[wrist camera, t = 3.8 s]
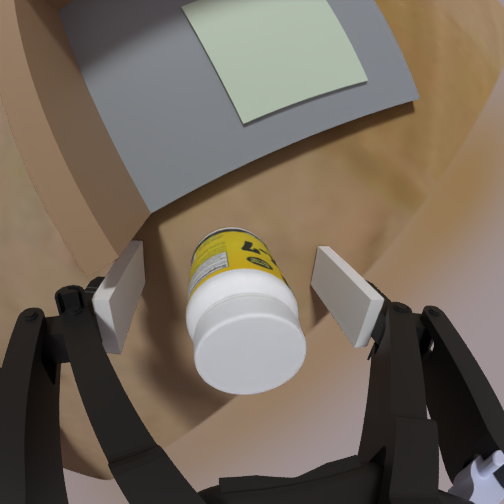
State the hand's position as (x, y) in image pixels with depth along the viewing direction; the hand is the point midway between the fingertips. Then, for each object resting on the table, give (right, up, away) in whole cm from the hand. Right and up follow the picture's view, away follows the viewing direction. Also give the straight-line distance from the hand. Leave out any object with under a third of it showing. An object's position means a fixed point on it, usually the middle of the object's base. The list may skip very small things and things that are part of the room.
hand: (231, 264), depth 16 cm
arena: (0, +14, -5) cm, 15 cm away
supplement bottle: (0, 0, 0) cm, 0 cm away
